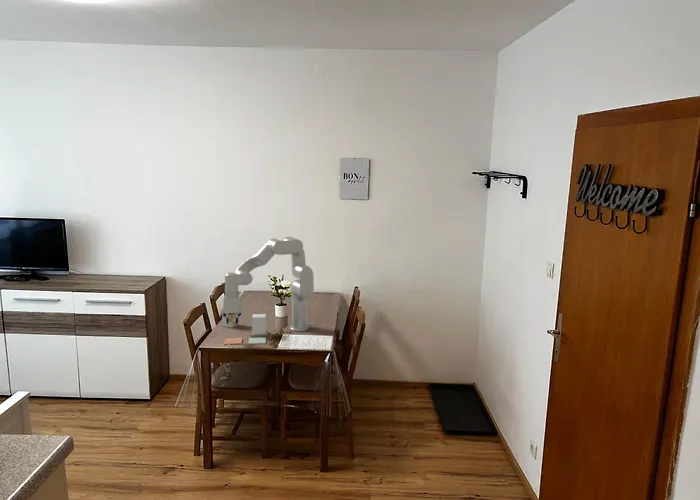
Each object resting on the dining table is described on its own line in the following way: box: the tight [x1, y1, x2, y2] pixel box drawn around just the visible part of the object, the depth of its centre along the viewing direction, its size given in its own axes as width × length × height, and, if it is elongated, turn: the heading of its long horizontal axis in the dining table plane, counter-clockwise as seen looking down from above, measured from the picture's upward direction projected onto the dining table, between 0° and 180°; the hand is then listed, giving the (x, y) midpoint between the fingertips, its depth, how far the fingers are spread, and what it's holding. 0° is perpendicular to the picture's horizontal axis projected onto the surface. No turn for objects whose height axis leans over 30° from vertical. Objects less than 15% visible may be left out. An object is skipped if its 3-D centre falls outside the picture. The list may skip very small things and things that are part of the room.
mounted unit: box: [250, 313, 269, 338], centre depth 308 cm, size 10×8×12 cm
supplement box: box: [221, 306, 239, 329], centre depth 323 cm, size 7×7×13 cm
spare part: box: [228, 313, 237, 328], centre depth 294 cm, size 4×4×8 cm
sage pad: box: [248, 337, 267, 345], centre depth 298 cm, size 10×9×1 cm
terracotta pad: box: [223, 337, 243, 346], centre depth 297 cm, size 10×9×1 cm
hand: (232, 323), depth 295 cm, fingers closed on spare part, 4 cm apart
